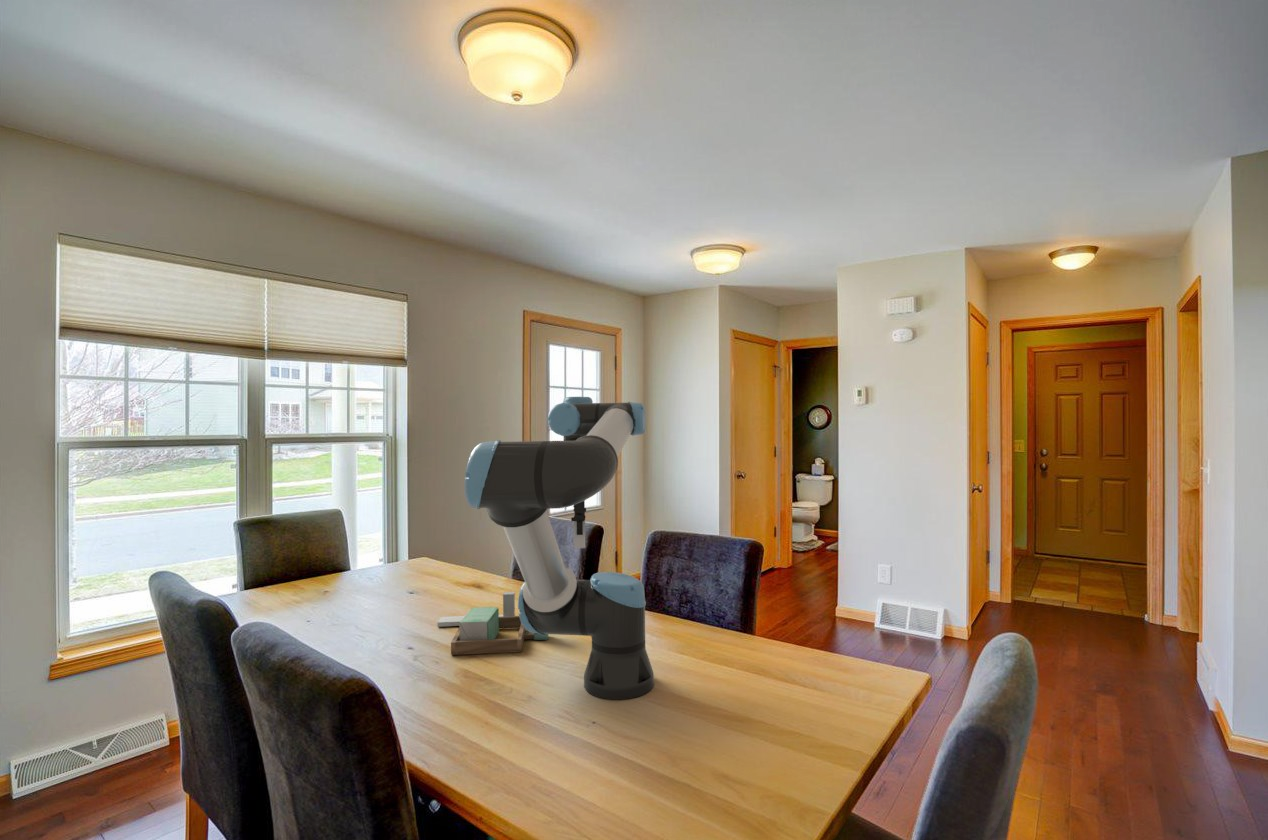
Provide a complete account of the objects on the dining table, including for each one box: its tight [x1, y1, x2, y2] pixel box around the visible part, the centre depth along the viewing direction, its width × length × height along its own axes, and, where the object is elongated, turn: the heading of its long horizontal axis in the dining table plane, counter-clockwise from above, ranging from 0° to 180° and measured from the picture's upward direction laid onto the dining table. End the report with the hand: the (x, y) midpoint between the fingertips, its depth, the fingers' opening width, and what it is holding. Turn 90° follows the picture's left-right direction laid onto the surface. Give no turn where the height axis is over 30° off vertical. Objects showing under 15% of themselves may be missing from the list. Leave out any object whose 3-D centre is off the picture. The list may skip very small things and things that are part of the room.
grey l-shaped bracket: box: [436, 590, 516, 628], centre depth 173 cm, size 5×21×8 cm, turn 96°
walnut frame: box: [450, 615, 549, 656], centre depth 159 cm, size 19×23×11 cm
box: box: [459, 606, 500, 641], centre depth 159 cm, size 7×14×8 cm, turn 1°
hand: (579, 542), depth 153 cm, fingers open, 13 cm apart
